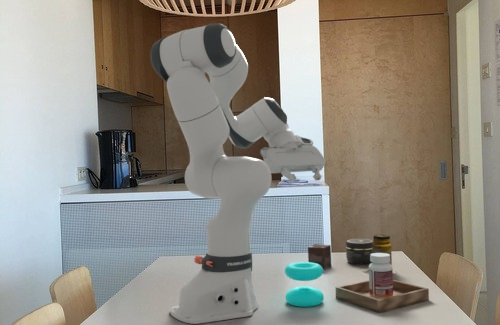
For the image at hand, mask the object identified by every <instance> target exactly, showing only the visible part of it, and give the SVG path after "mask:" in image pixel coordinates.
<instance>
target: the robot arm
mask: <svg viewBox="0 0 500 325" xmlns="http://www.w3.org/2000/svg"><path fill="white" fill-rule="evenodd" d="M149 57H150V63H151V66H152V68H153V69H154V72H155V73H156V74H157V76H159V78H160V79H162V80H163V81H164V82H165V83H166V89H167V94H168V98H169V101H170V105H171V107H172V111H173V113H174V116H175V119H176V120H177V122H178V125H179V126H180V130H181V132H182V134H183V136H184V137H183V138H184V139H185V141H186V143H187V147H188V150H189V164H188V165H187V167H186V169H185V172H184V183H185V186H186V188H187V191H189V192H190V193H191V194H193V195H195V196H198V197H202V198H205V199H210V200H211V199H214V200H215V199H216V200H217V199H218V200H220V206H219V209H218V211H217V213H216V215H214V216H213V217H211V218H210V219H209V221H208V222H207V225H206V243H207V244H206V245H207V246H206V247H207V253H206V254H205V255H204V256H200V255H195V257H193V261H194V263H195V264H198V265H201V269H200V270H199V271H198V272H197V273H196V274H195V275H194V276H193V277H192V278H191V279H189V281H187V282H186V283H185V284H184V285H182V287H181V290H180V293H179V299H178V300H179V301H178V304H177V305H174V306H171V307H170V312H169V313H170V315H171V316H172V317H173V318H175V319H177V320H178V321H180V322H183V323H187V324H192V325H193V324H194V325H197V324H204V323H211V322H218V321H224V320H230V319H238V318H247V317H250V316H252V315H253V314H254V311H256V310H257V309H258V308H259V304H258V301H257V298H256V294H255V289H254V283H253V274H252V272H253V253H252V250H251V223H252V218H253V214H254V211H255V209H256V207H257V205H258V203H259V201H260V200H261V199H262V198H263V197H265V196H266V195H267V193H268V192H269V190H270V188H271V185H272V180H273V178H272V174H281V175H282V176H283V177H284V178H286V179H287V180H288V181H289V182H290V183H295V182H296V180H297V176H296V175H295V173H302V172H303V173H304V172H312V173H313V174H314V175H313V176H312V178H313V180H315V181H320V180H321V178H322V174H321V173H320V171H322V170H323V168H324V167H325V165H326V158H325V157H324V156H323V154H322V153H321V151H320V150H319V149H318V148H317V147H316V146H314V141H313V140H312V139H310V138H307V137H302V136H300V135H297V134H295V132H293V130H291V129H290V127H289V123H288V116H287V114H286V113H285V111H284V110H283V108H282V106H281V105H280V104H279V102H278V101H277V100H276V99H274V98H271V97H263V98H261V99H260V100H258V101H257V102H255V103H253V105H251V106H250V107H248V108H247V109H246V110H244V111H243V112H241V113H239V114H238V115H235V116H234V113H233V111H232V109H231V108H230V103H231V101H232V99H233V97H234V96H235V95H236V93H237V92H238V91H239V90H240V89H241V88H242V86H243V85H244V83H245V82H246V79H247V77H248V72H249V64H248V62H247V61H248V60H247V59H246V57H245V55H244V53H243V51H242V50H241V49H240V47H239V46H238V44H236V39H235V37H234V34H233V33H232V31H231V29H230V28H229V27H227V26H226V25H224V24H222V23H208V24H207V25H203V26H199V27H198V26H197V27H194V28H190V29H183V30H180V31H178V32H176V33H173V34H171V35H168V36H163V37H161V38H160V39H157V40H156V41H155V42H154V43H153V44H152V46H151V49H150V55H149ZM206 74H207V75H208V76H209V80H208V78H207V77H206ZM262 137H263V139H264V141H266V142H267V143H268V147H266V146H265V147H262V148H261V149H260V152H259V153H260V155H261V157H263V160H262V159H259V158H256V157H250V156H245V155H243V156H227V155H226V153H225V151H224V146H223V145H224V144H225V143H226V142H227V140H228V139H229V141H230V142H231V144H232V145H234V147H235V148H239V149H249V148H250V147H251V146H252V145H253V144H255V143H256V142H257V141H258V140H259V139H261V138H262Z"/></svg>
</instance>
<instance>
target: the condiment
mask: <svg viewBox="0 0 500 325" xmlns="http://www.w3.org/2000/svg"><path fill="white" fill-rule="evenodd" d="M372 238H373V239H372V240H373V244H372V253H387V254H390V262H389V264H391V265H392V264H393V263H392V244H391V235H389V234H381V233H380V234H379V233H378V234H374V235H373V237H372ZM392 266H393V265H392ZM363 272H364V273H367V274H368V275H369V269H367V270H366V269H365V270H363ZM394 274H398V272H397V271H393V275H394Z"/></svg>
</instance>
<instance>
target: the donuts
mask: <svg viewBox="0 0 500 325" xmlns="http://www.w3.org/2000/svg"><path fill="white" fill-rule="evenodd" d="M284 273H285V275H286V276H287V277H288V278H289V279H291V280H292V281H293V280H294V281H298V282H310V281H314V280H318V279H319V278H320V277H321V276H323V273H324V269H323V268H322V267H321V265H319V264H317V263H312V262H308V261H300V262H299V261H298V262H291V263H289V264H288V265H286V267H285V268H284ZM324 297H325V296H324V293H323V292H322V291H321V290H320V289H318V288H316V287H312V286H296V287H292V288H290V289H289V290H288V291H287V292H286V295H285V300H286V302H287V304H289V305H291V306H296V307H300V308H306V307H307V308H308V307H309V308H311V307H316V306H319V305H320V304H322V303H323V301H324Z"/></svg>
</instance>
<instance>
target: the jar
mask: <svg viewBox="0 0 500 325" xmlns="http://www.w3.org/2000/svg"><path fill="white" fill-rule="evenodd" d="M372 244H373V239H369V238H351V239H348V240H346V242H345V257H346V261H347V262H348V264H350V263H352V264H351V265H355V264H358V265H357V266H366V265H367V264H368V265H370V264H371V263H372V262H371V261H370V254H372ZM368 265H367V266H368Z"/></svg>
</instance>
